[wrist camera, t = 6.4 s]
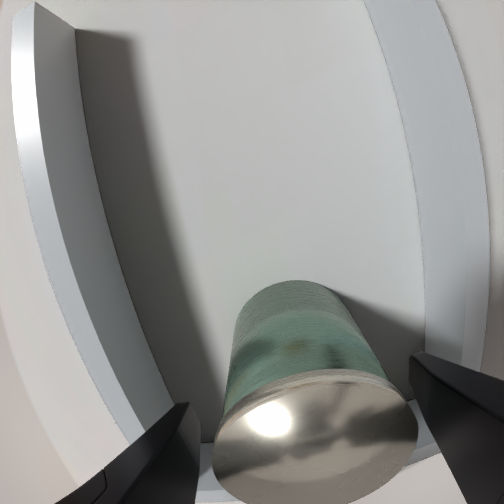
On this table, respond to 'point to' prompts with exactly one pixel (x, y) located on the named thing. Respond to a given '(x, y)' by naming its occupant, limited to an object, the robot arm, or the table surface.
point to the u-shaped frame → (103, 251)
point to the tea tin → (307, 404)
